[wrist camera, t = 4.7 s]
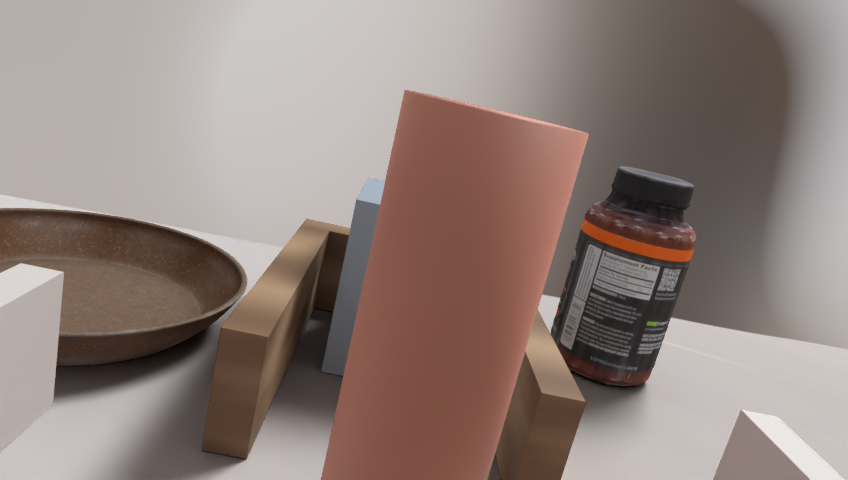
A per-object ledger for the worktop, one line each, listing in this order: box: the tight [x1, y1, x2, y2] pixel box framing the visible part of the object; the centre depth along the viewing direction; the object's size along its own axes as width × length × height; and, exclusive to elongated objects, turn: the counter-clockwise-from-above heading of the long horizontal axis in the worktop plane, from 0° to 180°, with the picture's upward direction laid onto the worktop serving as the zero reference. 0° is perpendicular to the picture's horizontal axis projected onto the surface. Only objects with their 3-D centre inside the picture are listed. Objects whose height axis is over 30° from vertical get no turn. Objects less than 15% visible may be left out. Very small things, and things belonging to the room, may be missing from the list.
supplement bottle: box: [551, 166, 696, 386], centre depth 34 cm, size 6×6×11 cm
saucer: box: [0, 208, 247, 366], centre depth 28 cm, size 15×15×3 cm
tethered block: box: [321, 90, 589, 480], centre depth 22 cm, size 21×6×13 cm, turn 1°
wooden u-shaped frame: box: [202, 219, 586, 480], centre depth 28 cm, size 16×12×4 cm
